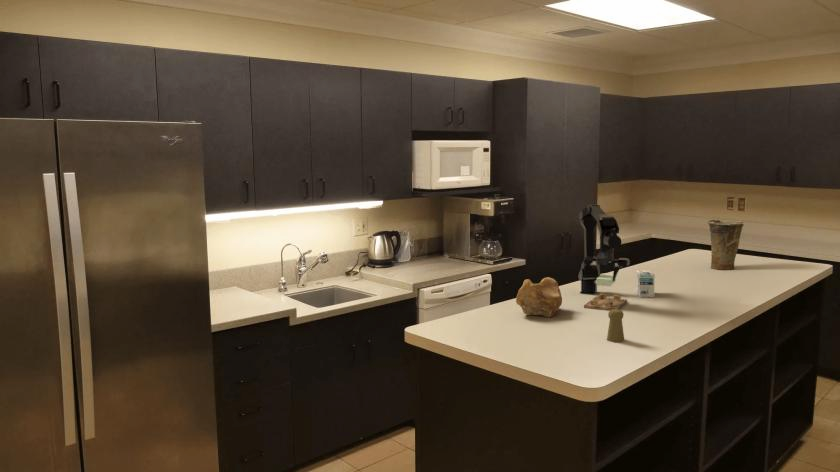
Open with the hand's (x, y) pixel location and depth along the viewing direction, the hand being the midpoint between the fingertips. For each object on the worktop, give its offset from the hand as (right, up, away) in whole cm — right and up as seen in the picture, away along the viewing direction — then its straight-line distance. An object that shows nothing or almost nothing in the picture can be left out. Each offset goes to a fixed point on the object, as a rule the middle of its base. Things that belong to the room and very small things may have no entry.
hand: (606, 280), depth 275 cm
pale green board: (0, -1, 0) cm, 1 cm away
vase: (+89, +1, +76) cm, 117 cm away
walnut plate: (0, -11, +1) cm, 11 cm away
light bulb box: (+24, -8, +18) cm, 31 cm away
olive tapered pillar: (-11, -18, -50) cm, 54 cm away
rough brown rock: (-30, -14, -11) cm, 34 cm away
